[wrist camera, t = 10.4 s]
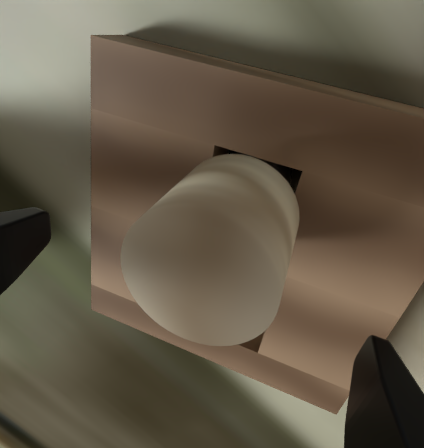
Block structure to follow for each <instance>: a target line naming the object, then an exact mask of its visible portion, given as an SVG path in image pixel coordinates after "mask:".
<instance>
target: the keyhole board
mask: <svg viewBox="0 0 424 448" xmlns="http://www.w3.org/2000/svg"><path fill="white" fill-rule="evenodd" d="M228 149H229V150H233V151H236V152H239V153H243V154H246V155H250V156H253V157H256V158H260V159H263V160H266V161H270V162H273V163H276V164H280V165H283V166H287V167H290V168H293V169H297V170H300V171H302V174H301V177H300V180H299V183H298V186H297V189H296V192H295V196H296V199H297V202H298V207H299V227H298V231H297V235H296V239H295V243H294V247H293V251H292V255H291V260H290V264H289V268H288V272H287V276H286V280H285V284H284V288H283V292H282V297H281V301H280V305H279V308H278V312H277V314H276V316H275V318H274V320H273V322H272V323H271V324H270V326H269V327H268V328H267V329H266V330H265V331H264V332H263V333H262V334H260V335H259V336H257V337H256V338H254V339H252V340H250V341H248V342H245V343H241V344H237V345H232V346H210V345H204V344H200V343H196V342H192V341H189V340H187V339H184V338H182V337H179V336H177V335H175V334H173V333H172V332H170V331H168V330H166V329H165V328H163V327H162V326H160V325H159V324H158V323H157V322H155V321H154V320H153V319H152V318H151V317H150V316H148V315H147V314H146V313H145V312H144V310H143V309H142V308H141V307H140V306H139V305H138V303H137V302H136V300H135V299H134V298H133V296H132V294H131V293H130V291H129V289H128V287H127V284H126V282H125V280H124V276H123V273H122V268H121V248H122V244H123V240H124V238H125V236H126V234H127V232H128V230H129V229H130V227H131V226H132V225H133V224H134V223H135V222H136V221H137V220H138V219H139V218H140V217H141V216H142V215H143V214H144V213H146V212H147V211H148V210H149V209H150V208H151V207H152V206H153V205H154V204H155V203H157V202H158V201H159V200H160V199H161V198H162V197H163V196H164V195H165V194H167V193H168V192H169V191H170V190H171V189H172V188H173V187H174V186H175V185H176V184H178V183H179V182H180V181H181V180H182V179H183V178H184V177H185V176H186V175H188V174H189V173H190V172H191V171H192V170H193V169H194V168H195V167H196V166H198V165H199V164H200V163H202V162H203V161H205V160H207V159H209V158H212V157H215V156H219V155H224V154H227V151H228ZM423 282H424V108H420V107H416V106H412V105H407V104H403V103H399V102H395V101H391V100H387V99H383V98H379V97H375V96H371V95H367V94H362V93H358V92H354V91H350V90H346V89H342V88H338V87H334V86H330V85H326V84H322V83H318V82H313V81H309V80H305V79H301V78H297V77H293V76H289V75H285V74H281V73H277V72H273V71H268V70H264V69H260V68H256V67H252V66H248V65H244V64H240V63H236V62H232V61H228V60H224V59H219V58H215V57H211V56H207V55H203V54H199V53H195V52H191V51H187V50H183V49H179V48H174V47H170V46H166V45H162V44H158V43H154V42H150V41H146V40H142V39H138V38H134V37H130V36H125V35H91V309H92V310H94V311H96V312H99V313H101V314H103V315H106V316H108V317H110V318H113V319H115V320H117V321H120V322H122V323H124V324H127V325H129V326H131V327H134V328H136V329H138V330H141V331H143V332H145V333H148V334H150V335H152V336H155V337H157V338H159V339H162V340H164V341H166V342H168V343H171V344H173V345H175V346H178V347H180V348H182V349H185V350H187V351H189V352H192V353H194V354H196V355H199V356H201V357H203V358H206V359H208V360H210V361H213V362H215V363H217V364H220V365H222V366H224V367H227V368H229V369H231V370H234V371H236V372H238V373H241V374H243V375H245V376H248V377H250V378H252V379H255V380H257V381H259V382H262V383H264V384H266V385H269V386H271V387H273V388H276V389H278V390H280V391H283V392H285V393H287V394H290V395H292V396H294V397H297V398H299V399H301V400H304V401H306V402H308V403H311V404H313V405H315V406H318V407H320V408H322V409H325V410H327V411H329V412H332V413H334V414H337V413H338V411H339V410H340V408H341V407H342V405H343V404H344V402H345V401H346V399H347V398H348V396H349V392H350V384H351V377H352V370H353V364H354V360H355V358H356V356H357V354H358V352H359V351H360V349H361V347H362V346H363V344H364V342H365V341H366V339H367V338H368V337H369V336H370V335H375V336H378V337H380V338H383V339H386V338H387V337H388V335H389V334H390V332H391V331H392V329H393V328H394V326H395V325H396V323H397V322H398V320H399V319H400V317H401V315H402V314H403V312H404V311H405V309H406V308H407V306H408V305H409V303H410V302H411V300H412V299H413V297H414V296H415V294H416V293H417V291H418V290H419V288H420V287H421V285H422V284H423Z"/></svg>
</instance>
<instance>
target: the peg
mask: <svg viewBox="0 0 424 448" xmlns="http://www.w3.org/2000/svg"><path fill="white" fill-rule="evenodd" d="M290 178H291V172H290V167H287V166H283V165H280V164H276V163H273V162H270V161H266V160H263V159H260V158H256V157H253V156H250V155H246V154H243V153H238V154H224V155H219V156H215V157H212V158H209V159H207V160H205V161H203V162H202V163H200V164H199V165H198V166H196V167H195V168H194V169H193V170H192V171H191V172H190V173H189V174H188V175H186V176H185V177H184V178H183V179H182V180H181V181H180V182H179V183H178V184H176V185H175V186H174V187H173V188H172V189H171V190H170V191H169V192H168V193H167V194H165V195H164V196H163V197H162V198H161V199H160V200H159V201H158V202H157V203H155V204H154V205H153V206H152V207H151V208H150V209H149V210H148V211H147V212H146V213H144V214H143V215H142V216H141V217H140V218H139V219H138V220H137V221H136V222H135V223H134V224H133V225H132V226H131V227H130V229H129V230H128V232H127V234H126V236H125V238H124V240H123V244H122V248H121V268H122V273H123V276H124V280H125V282H126V284H127V287H128V289H129V291H130V293H131V294H132V296H133V298H134V299H135V300H136V302H137V303H138V305H139V306H140V307H141V308H142V309H143V310H144V312H145V313H146V314H147V315H148V316H150V317H151V318H152V319H153V320H154V321H155V322H157V323H158V324H159V325H160V326H162V327H163V328H165V329H166V330H168V331H170V332H172V333H173V334H175V335H177V336H179V337H182V338H184V339H187V340H189V341H192V342H196V343H200V344H204V345H210V346H232V345H237V344H241V343H245V342H248V341H250V340H252V339H254V338H256V337H257V336H259V335H260V334H262V333H263V332H264V331H265V330H266V329H267V328H268V327H269V326H270V324H271V323H272V322H273V320H274V318H275V316H276V314H277V312H278V308H279V305H280V301H281V297H282V292H283V288H284V284H285V280H286V276H287V272H288V268H289V264H290V260H291V255H292V251H293V247H294V243H295V239H296V235H297V231H298V227H299V207H298V202H297V199H296V196H295V194H294V192H293V190H292V188H291V186H290V185H289V183H290Z"/></svg>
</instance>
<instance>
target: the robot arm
mask: <svg viewBox="0 0 424 448" xmlns="http://www.w3.org/2000/svg"><path fill="white" fill-rule="evenodd" d="M50 239H51V225H50V215H49V213H48V212H47V211H44V210H42V209H39V208H36V207H32V208H25V209H19V210H12V211H6V212H0V295H1V294H2V293H3V292H4V291H5V290H6V289H7V288H8V287H9V286H10V285H11V284H12V283H13V282H14V281H15V280H16V279H17V278H18V277H19V276H20V275H21V274H22V273H23V271H24V270H25V269H26V268H27V267H28V266H29V265H30V264H31V262H32V261H33V260H34V259H35V258H36V257H37V256H38V255H39V253H40V252H41V251H42V250H43V249H44V248H45V247H46V246H47V244H48V243H49V241H50ZM344 448H424V393H423V392H422V390H421V389H420V387H419V386H418V384H417V383H416V381H415V379H414V378H413V376H412V375H411V373H410V372H409V370H408V369H407V367H406V366H405V364H404V363H403V361H402V360H401V358H400V357H399V355H398V354H397V352H396V351H395V349H394V347H393V346H392V344H391V343H390V342H389V341H388V340H386V339H383V338H380V337H378V336H375V335H370V336H369V337H368V338H367V339H366V341H365V342H364V344H363V346H362V347H361V349H360V351H359V352H358V354H357V356H356V358H355V360H354V364H353V370H352V377H351V384H350V392H349V399H348V406H347V413H346V421H345V436H344Z"/></svg>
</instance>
